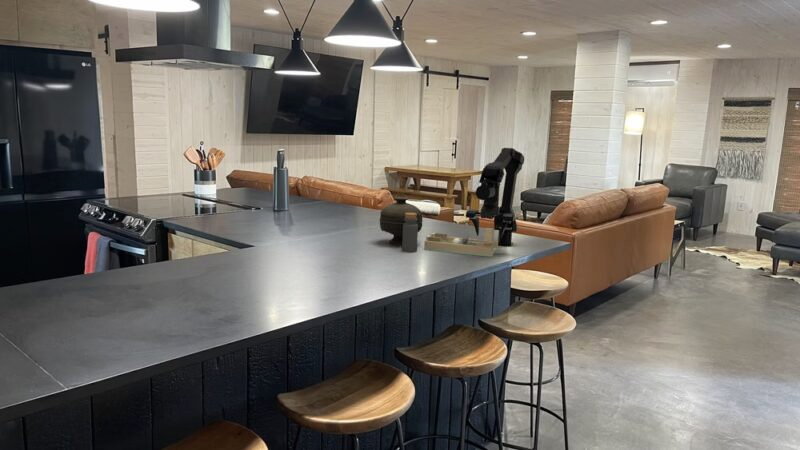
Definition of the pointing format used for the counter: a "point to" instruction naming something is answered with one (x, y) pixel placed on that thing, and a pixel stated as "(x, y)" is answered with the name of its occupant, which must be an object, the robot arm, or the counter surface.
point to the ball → (456, 241)
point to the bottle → (410, 233)
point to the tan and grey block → (487, 238)
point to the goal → (437, 237)
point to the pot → (398, 219)
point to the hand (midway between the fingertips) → (489, 236)
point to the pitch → (462, 247)
